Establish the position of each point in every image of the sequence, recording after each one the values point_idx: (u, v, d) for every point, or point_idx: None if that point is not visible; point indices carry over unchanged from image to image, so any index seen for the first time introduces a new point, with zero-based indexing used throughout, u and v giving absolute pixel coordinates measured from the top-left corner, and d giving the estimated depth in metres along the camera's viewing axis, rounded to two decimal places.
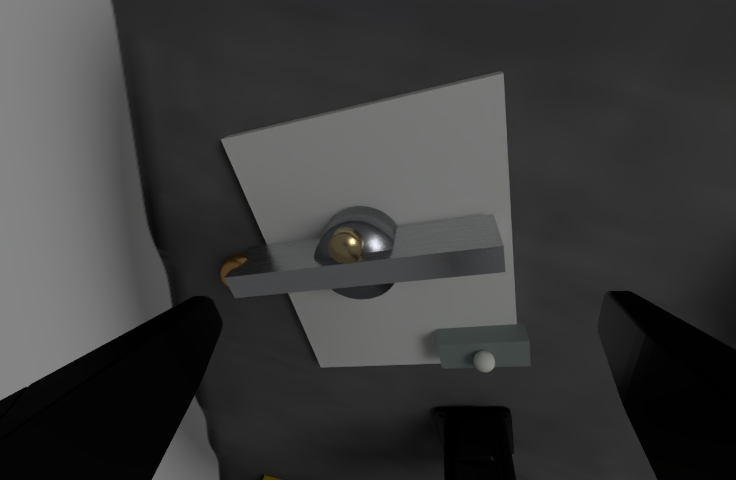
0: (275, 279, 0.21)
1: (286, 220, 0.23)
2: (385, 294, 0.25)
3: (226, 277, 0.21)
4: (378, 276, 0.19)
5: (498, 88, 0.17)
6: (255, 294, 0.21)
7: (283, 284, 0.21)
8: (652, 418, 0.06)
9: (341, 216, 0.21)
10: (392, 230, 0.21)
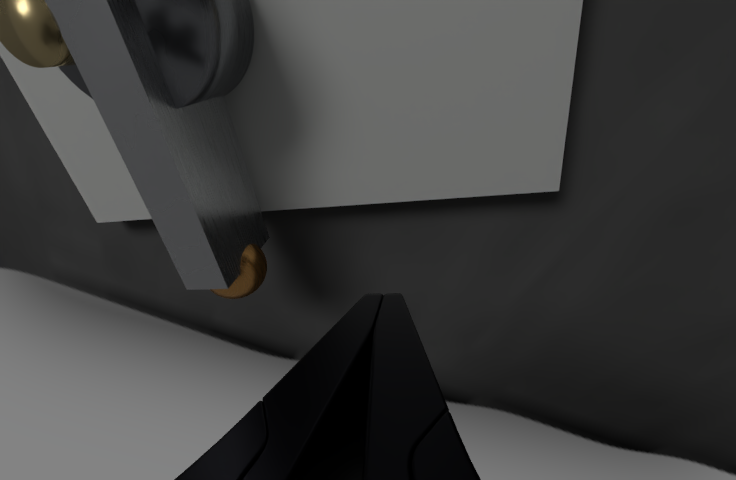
0: (160, 202, 0.10)
1: None
2: None
3: (185, 286, 0.12)
4: None
5: None
6: (207, 250, 0.11)
7: (165, 188, 0.10)
8: None
9: None
10: None
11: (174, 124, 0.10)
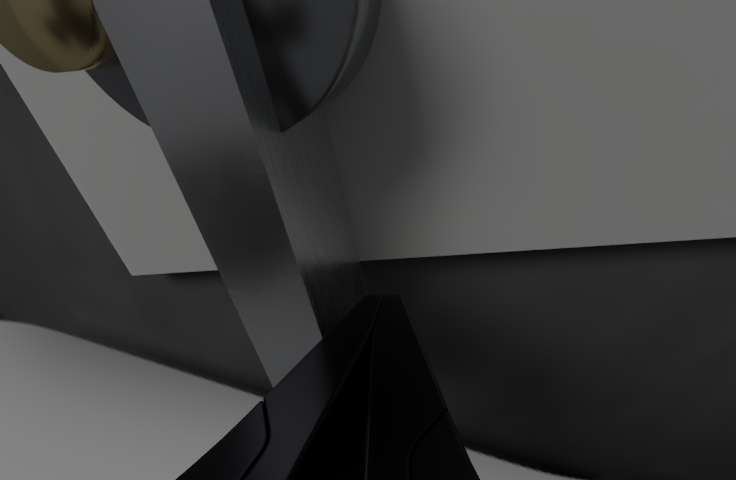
0: (251, 282, 0.07)
1: None
2: None
3: None
4: None
5: None
6: None
7: (262, 263, 0.06)
8: None
9: None
10: None
11: (280, 159, 0.06)
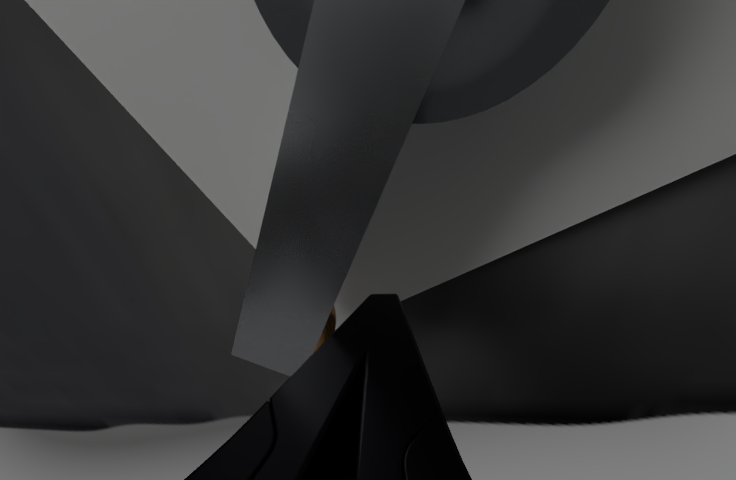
0: (291, 247, 0.06)
1: (451, 204, 0.09)
2: None
3: (232, 350, 0.07)
4: None
5: None
6: (313, 332, 0.07)
7: (319, 237, 0.06)
8: None
9: None
10: None
11: None
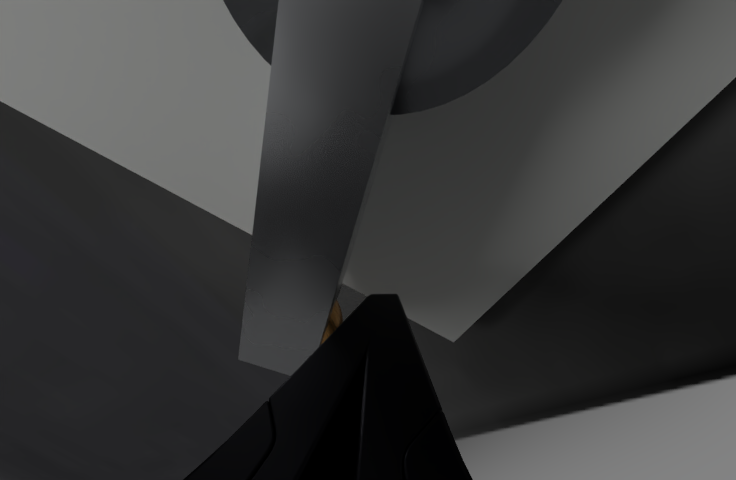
0: (284, 248, 0.06)
1: (525, 167, 0.09)
2: None
3: (239, 354, 0.08)
4: None
5: None
6: (315, 332, 0.07)
7: (309, 235, 0.06)
8: None
9: None
10: None
11: (380, 142, 0.05)
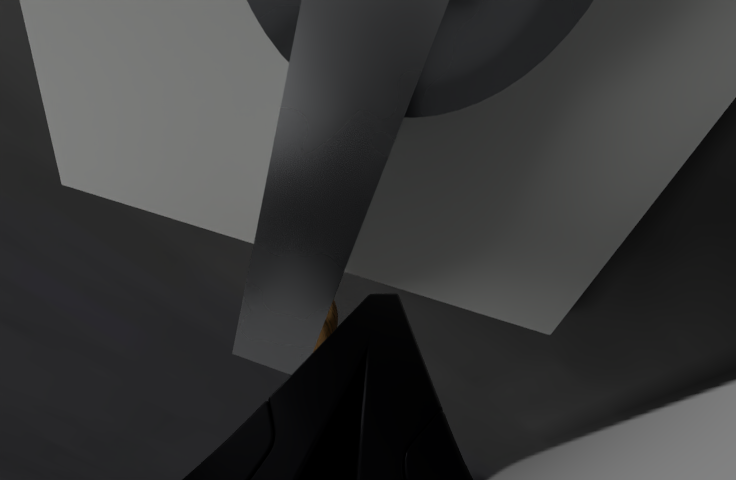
0: (288, 244, 0.06)
1: (595, 133, 0.08)
2: None
3: (233, 348, 0.07)
4: None
5: (65, 168, 0.11)
6: (312, 329, 0.07)
7: (315, 233, 0.06)
8: None
9: None
10: None
11: None
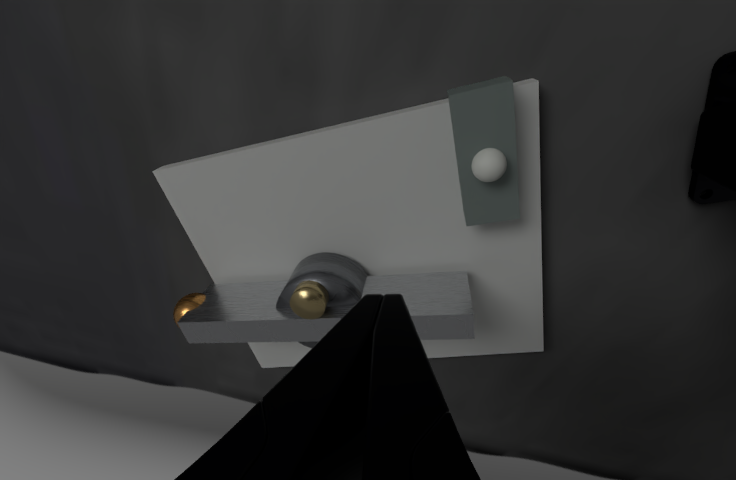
0: (232, 328, 0.19)
1: None
2: (406, 269, 0.20)
3: (179, 322, 0.20)
4: None
5: (164, 173, 0.20)
6: (211, 341, 0.20)
7: (241, 333, 0.19)
8: None
9: (307, 263, 0.20)
10: (361, 281, 0.20)
11: None
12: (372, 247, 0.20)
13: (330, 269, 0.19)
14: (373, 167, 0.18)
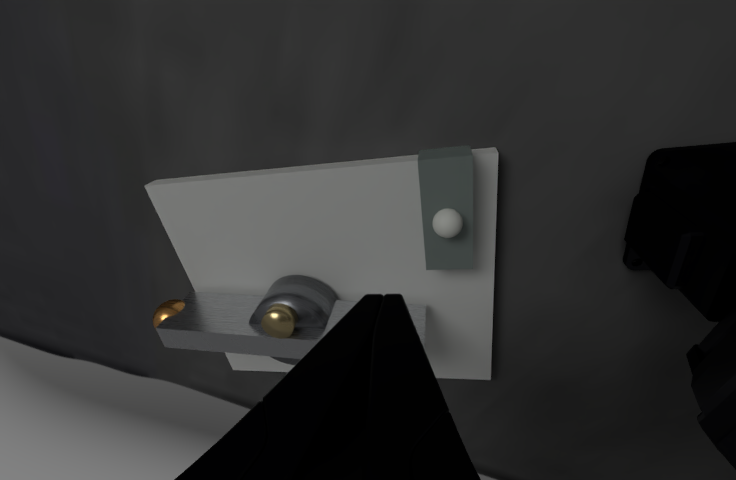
0: (206, 338, 0.21)
1: None
2: None
3: (157, 328, 0.21)
4: None
5: (155, 189, 0.21)
6: (186, 347, 0.22)
7: (214, 344, 0.21)
8: None
9: (282, 284, 0.21)
10: (329, 306, 0.21)
11: None
12: (343, 275, 0.22)
13: (302, 293, 0.21)
14: (349, 206, 0.19)
